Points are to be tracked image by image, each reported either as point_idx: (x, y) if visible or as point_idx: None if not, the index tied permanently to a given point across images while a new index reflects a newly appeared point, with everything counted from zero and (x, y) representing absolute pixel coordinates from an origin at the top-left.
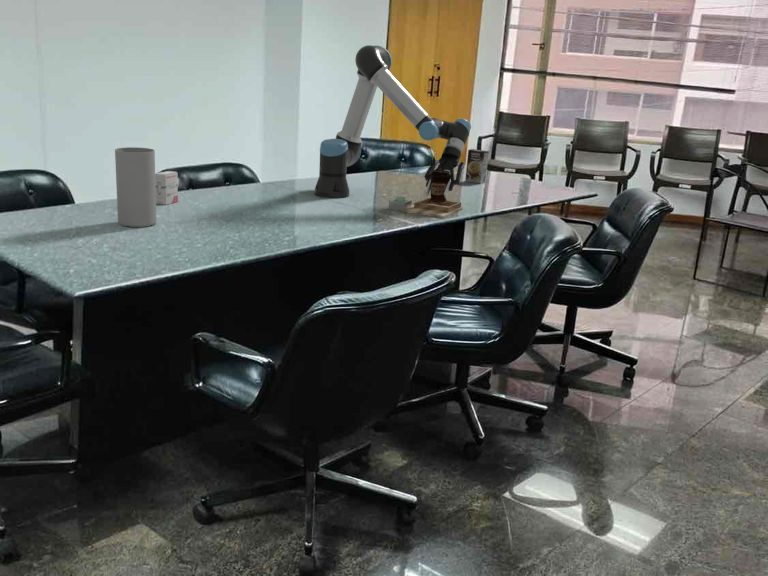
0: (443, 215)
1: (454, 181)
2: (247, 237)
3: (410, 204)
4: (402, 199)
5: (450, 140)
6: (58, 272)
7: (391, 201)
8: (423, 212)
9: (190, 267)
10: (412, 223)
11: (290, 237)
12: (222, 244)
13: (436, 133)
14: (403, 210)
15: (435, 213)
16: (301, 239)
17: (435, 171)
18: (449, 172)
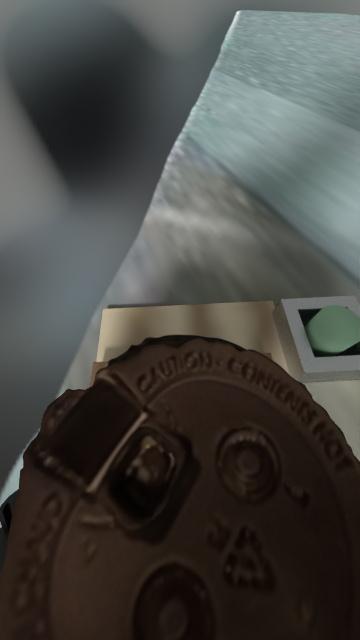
0: (105, 310)
1: (2, 539)
2: (289, 69)
3: (292, 365)
4: (316, 315)
5: None
6: (285, 14)
7: (342, 297)
8: (186, 306)
9: (235, 32)
10: (160, 211)
11: (255, 83)
12: (279, 54)
13: None
14: (265, 302)
15: (142, 320)
16: (238, 83)
17: (235, 348)
18: (9, 581)
